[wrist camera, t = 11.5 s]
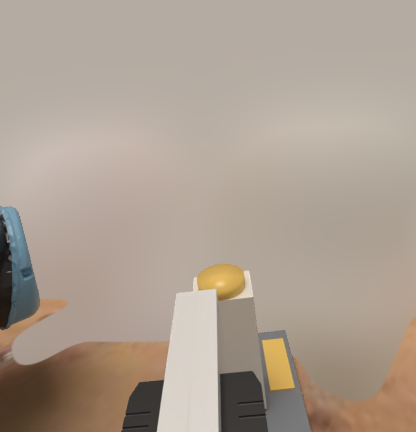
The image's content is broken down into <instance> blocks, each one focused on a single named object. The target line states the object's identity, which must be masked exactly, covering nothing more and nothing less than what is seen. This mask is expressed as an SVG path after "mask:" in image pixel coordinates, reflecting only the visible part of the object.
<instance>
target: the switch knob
mask: <svg viewBox="0 0 416 432" xmlns="http://www.w3.org/2000/svg"><path fill="white" fill-rule="evenodd" d="M210 289H216V290H217V297H218V303H219V309H220V316H221V322H222V328H223V335H224V341H225V355H226V373H234V372H245V371H253V372H254V374H255V375H256V377H257V378H258V380H259V381H260V383H261V385H262V392H263V399H264V406H265V409H267V405H266V397H265V388H264V380H263V372H262V364H261V356H260V347H259V339H258V331H257V324H256V316H255V315H256V314H255V306H254V298H253V292H252V286H251V280H250V274H249V271H243V270H242V269H241V268H239V267H238V266H235V265H230V264H219V265H214V266H211V267H208V268H207V269H204V270H203V271H202V272H201V273H200V274H199V275H198V277H194V283H193V291H201V290H210Z"/></svg>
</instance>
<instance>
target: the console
mask: <svg viewBox="0 0 416 432" xmlns="http://www.w3.org/2000/svg"><path fill="white" fill-rule="evenodd" d="M258 339H259V347H260V356H261V364H262V372H263V380H264V388H265V397H266V405H267V409H265V413H266V420H267V427H268V432H311V429H310V425H309V421H308V417H307V413H306V409H305V405H304V402H303V398H302V394H301V390H300V386H299V382H298V378H297V374H296V371H295V367H294V363H293V359H292V355H291V351H290V347H289V343H288V339H287V336H286V332H285V330H282V331H274V332H264V333H258Z"/></svg>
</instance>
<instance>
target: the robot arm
mask: <svg viewBox="0 0 416 432" xmlns="http://www.w3.org/2000/svg"><path fill="white" fill-rule="evenodd" d="M39 305H40V298H39V293H38V289H37V285H36V281H35V276H34V272H33V269H32V264H31V260H30V255H29V252H28V247H27V243H26V239H25V235H24V231H23V227H22V224H21V220H20V216H19V213H18V211H17V210H16V209H15V208H13V207H1V206H0V329H1V330H4V329H8V328H9V327H10V326H11V325H12V324H15V323H17V322H19V321H22V320H24V319H26V318H29V317H31V316H32V315H34V314H35V313H36V311H37V310H38V308H39ZM122 428H123V430H122V431H121V432H268V427H267V420H266V413H265V406H264V399H263V392H262V385H261V383H260V381H259V380H258V378H257V377H256V375H255V374H254V372H253V371H245V372H234V373H226V355H225V341H224V335H223V328H222V322H221V316H220V309H219V303H218V297H217V290H216V289H210V290H201V291H192V292H183V293H177V295H176V302H175V309H174V316H173V322H172V330H171V336H170V343H169V350H168V357H167V364H166V371H165V378H164V380H160V381H149V382H139V384H138V385H137V387H136V388H135V390H134V391H133V393H132V394H131V396H130V397H129V402H128V406H127V410H126V417H125V419H124V423H123V427H122Z"/></svg>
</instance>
